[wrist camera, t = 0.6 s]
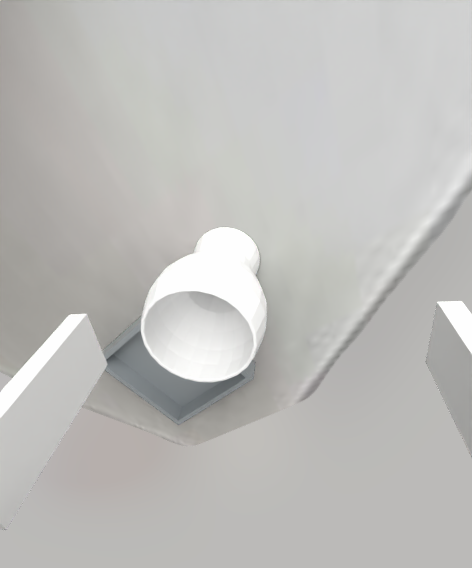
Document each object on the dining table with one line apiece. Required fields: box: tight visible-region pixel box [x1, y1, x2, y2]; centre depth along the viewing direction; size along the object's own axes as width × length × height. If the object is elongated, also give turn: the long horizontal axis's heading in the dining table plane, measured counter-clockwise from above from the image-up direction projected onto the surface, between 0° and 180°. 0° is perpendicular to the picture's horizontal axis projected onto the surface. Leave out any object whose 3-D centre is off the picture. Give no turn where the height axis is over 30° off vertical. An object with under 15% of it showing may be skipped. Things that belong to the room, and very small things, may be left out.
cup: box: [141, 227, 267, 382], centre depth 35 cm, size 11×11×15 cm
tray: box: [103, 316, 256, 425], centre depth 48 cm, size 15×15×3 cm
